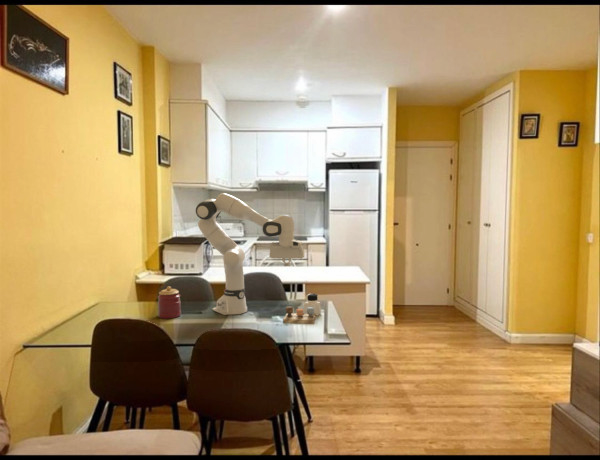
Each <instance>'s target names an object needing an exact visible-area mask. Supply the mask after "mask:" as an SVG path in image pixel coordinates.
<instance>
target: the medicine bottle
mask: <svg viewBox="0 0 600 460" xmlns="http://www.w3.org/2000/svg"><path fill="white" fill-rule="evenodd" d="M306 299H307V300H306V302H304V303H303V308H304V309H303V311H304V314H307V308H308V307H313V308H314V314H316V316H318V315H319V316H320V315H321V313H322V309H321V308H322V307H321V306H322V305H321V302H320V301H318V294H316V293H308V294H307V296H306Z"/></svg>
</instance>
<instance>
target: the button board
mask: <svg viewBox="0 0 600 460" xmlns="http://www.w3.org/2000/svg"><path fill="white" fill-rule="evenodd" d="M316 319H317V315H316V314H312V317H309V314H304V315H302V317H298V315H296V313H295V312H293V313H291V316H290V317H289V316H288V313H286V314H285V315H284V316H283V319H282V322H283V323H286V324H287V323H289V324H315V321H316Z"/></svg>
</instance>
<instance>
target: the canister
mask: <svg viewBox="0 0 600 460" xmlns="http://www.w3.org/2000/svg"><path fill="white" fill-rule="evenodd" d="M179 292H180V291H179V290H178V289H176V288H172V286H169V285H168V286H167V287H166V288H164V289H162V290H160V291H159V292H158V294H159V295H158V296H157V299H158V301H157V304H158V305H157V306H158V307H157V310H158V313H157V315H158V318H160V319H164V320H165V319H167V320H168V319H175V318H179V317H180V316H181V315H182V309H181V308H182V306H181V305H182V304H181V298H180V297H181V294H180V293H179Z"/></svg>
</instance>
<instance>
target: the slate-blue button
mask: <svg viewBox="0 0 600 460" xmlns="http://www.w3.org/2000/svg"><path fill="white" fill-rule="evenodd" d="M307 314H309V317H312V314H314V308H313V307H308V308H307Z"/></svg>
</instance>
